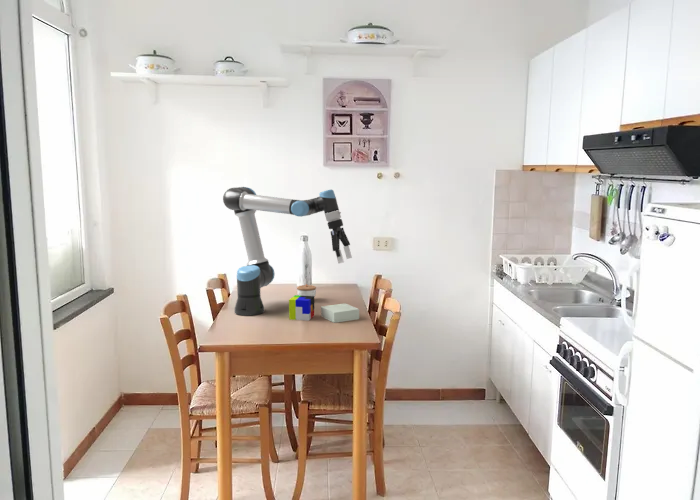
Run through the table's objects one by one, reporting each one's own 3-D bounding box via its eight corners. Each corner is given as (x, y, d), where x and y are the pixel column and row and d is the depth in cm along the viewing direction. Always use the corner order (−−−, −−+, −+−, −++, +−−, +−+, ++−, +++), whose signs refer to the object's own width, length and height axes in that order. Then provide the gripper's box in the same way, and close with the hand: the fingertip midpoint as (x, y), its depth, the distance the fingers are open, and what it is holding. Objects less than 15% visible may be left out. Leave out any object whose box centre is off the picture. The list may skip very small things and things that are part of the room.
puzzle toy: (308, 320, 268) (308, 300, 266) (289, 319, 270) (288, 299, 268) (314, 315, 277) (314, 296, 276) (295, 314, 279) (295, 295, 278)
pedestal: (320, 316, 275) (320, 306, 275) (345, 312, 282) (345, 303, 282) (334, 322, 263) (334, 312, 263) (359, 319, 270) (359, 309, 270)
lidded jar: (313, 297, 317) (313, 281, 315) (318, 301, 307) (318, 285, 305) (295, 299, 313) (295, 282, 312) (299, 303, 303) (299, 286, 302)
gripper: (332, 220, 265) (344, 263, 267) (348, 216, 289) (359, 254, 290) (318, 224, 268) (330, 266, 269) (335, 219, 291) (346, 258, 293)
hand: (345, 260), depth 280 cm, fingers open, 13 cm apart
